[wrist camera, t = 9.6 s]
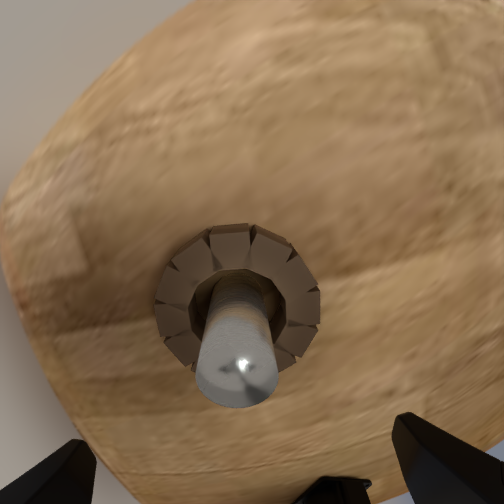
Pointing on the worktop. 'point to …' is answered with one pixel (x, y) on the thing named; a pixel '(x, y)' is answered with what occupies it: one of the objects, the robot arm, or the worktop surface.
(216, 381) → the grey cylinder
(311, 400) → the worktop surface
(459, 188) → the worktop surface
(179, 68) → the worktop surface
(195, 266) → the walnut gear
